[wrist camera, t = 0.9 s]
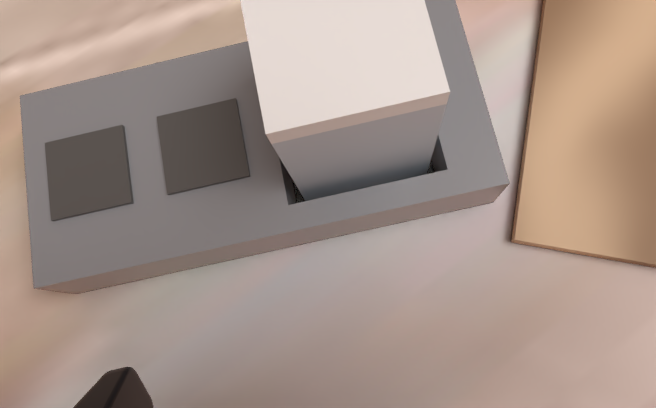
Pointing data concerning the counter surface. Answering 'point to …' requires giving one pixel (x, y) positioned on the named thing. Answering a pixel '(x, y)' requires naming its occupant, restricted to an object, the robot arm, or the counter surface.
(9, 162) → the counter surface
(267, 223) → the power strip
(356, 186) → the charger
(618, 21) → the cork pad
